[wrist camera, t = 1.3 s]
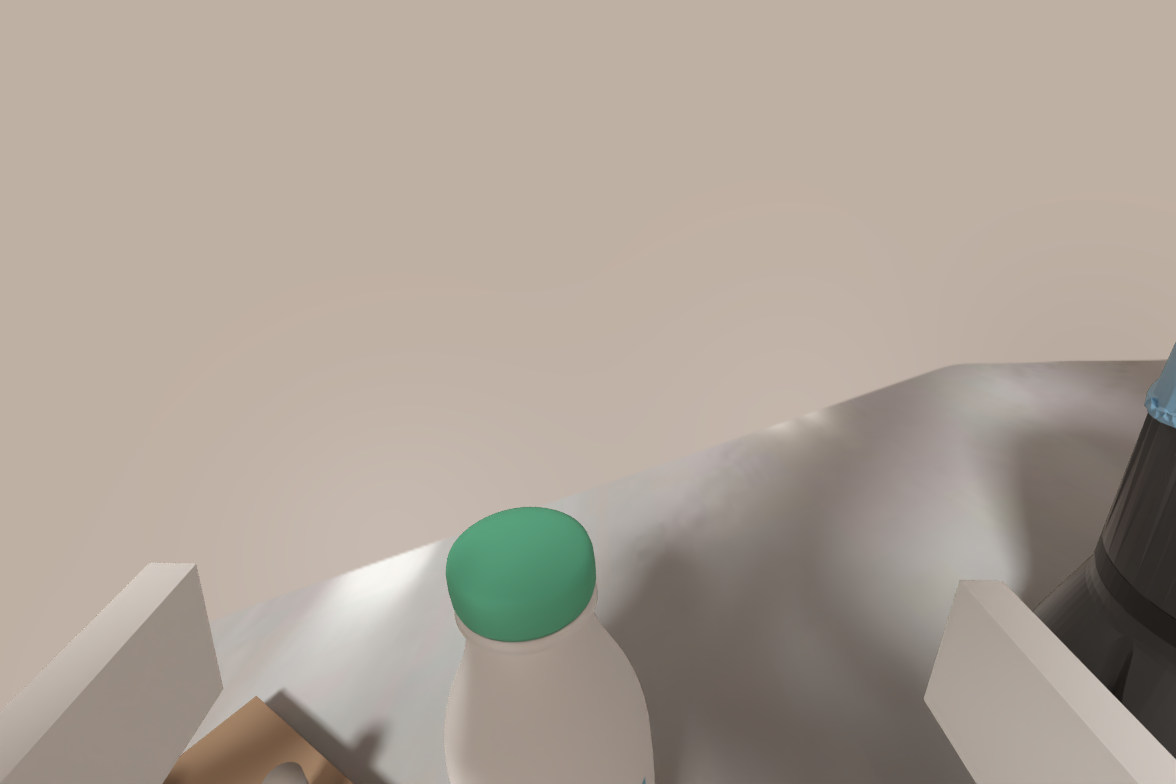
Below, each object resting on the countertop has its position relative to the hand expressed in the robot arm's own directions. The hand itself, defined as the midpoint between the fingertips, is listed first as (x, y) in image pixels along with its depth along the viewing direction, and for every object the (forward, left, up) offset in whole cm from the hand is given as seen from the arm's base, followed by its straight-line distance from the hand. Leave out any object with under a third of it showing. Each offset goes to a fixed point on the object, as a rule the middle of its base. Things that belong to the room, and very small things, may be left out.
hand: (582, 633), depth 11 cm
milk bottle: (+6, -4, -24) cm, 25 cm away
